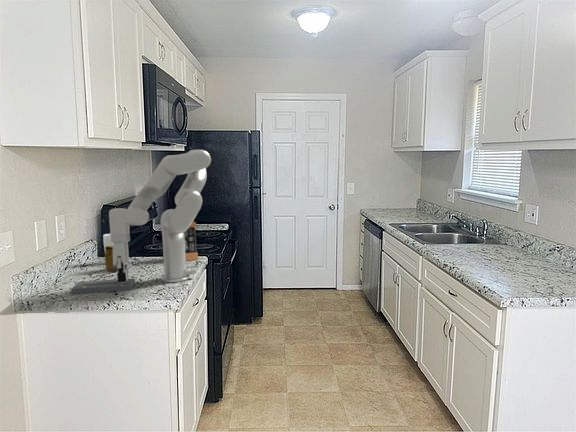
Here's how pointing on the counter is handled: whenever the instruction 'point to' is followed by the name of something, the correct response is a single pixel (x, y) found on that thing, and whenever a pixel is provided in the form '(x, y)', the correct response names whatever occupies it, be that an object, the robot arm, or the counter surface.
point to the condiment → (109, 259)
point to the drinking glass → (107, 240)
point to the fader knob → (126, 276)
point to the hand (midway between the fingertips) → (123, 279)
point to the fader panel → (102, 286)
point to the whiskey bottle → (190, 243)
